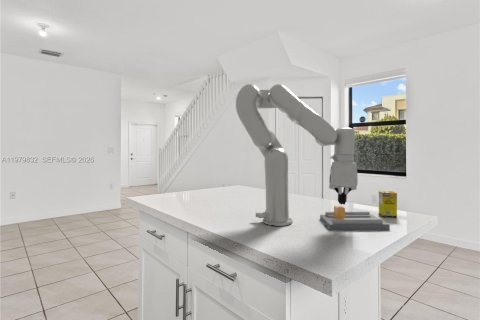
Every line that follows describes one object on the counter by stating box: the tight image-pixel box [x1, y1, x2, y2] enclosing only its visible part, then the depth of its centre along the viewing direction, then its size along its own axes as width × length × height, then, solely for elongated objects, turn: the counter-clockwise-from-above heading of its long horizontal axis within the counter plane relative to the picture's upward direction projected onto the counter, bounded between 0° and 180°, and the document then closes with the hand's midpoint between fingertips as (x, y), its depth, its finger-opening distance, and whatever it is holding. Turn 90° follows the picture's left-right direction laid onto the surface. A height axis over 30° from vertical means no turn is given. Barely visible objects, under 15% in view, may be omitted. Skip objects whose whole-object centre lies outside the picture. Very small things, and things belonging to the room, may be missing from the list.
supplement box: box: [378, 190, 398, 219], centre depth 123 cm, size 6×6×11 cm
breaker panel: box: [319, 213, 391, 231], centre depth 111 cm, size 22×16×3 cm
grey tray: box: [324, 210, 384, 224], centre depth 111 cm, size 18×14×2 cm
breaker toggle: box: [333, 205, 346, 219], centre depth 111 cm, size 3×5×5 cm, turn 176°
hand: (342, 203), depth 111 cm, fingers closed
